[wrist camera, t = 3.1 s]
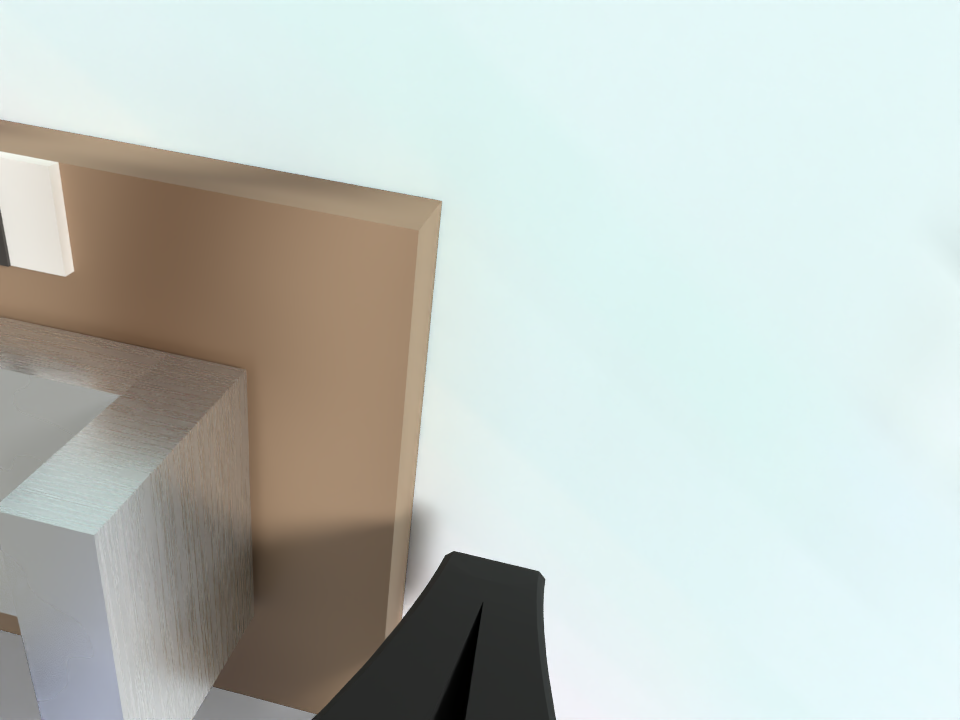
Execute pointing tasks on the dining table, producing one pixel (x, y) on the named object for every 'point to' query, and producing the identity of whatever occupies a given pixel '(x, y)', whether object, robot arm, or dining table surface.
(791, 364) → the dining table surface
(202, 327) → the gauge frame
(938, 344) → the dining table surface
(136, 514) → the brushed steel block
